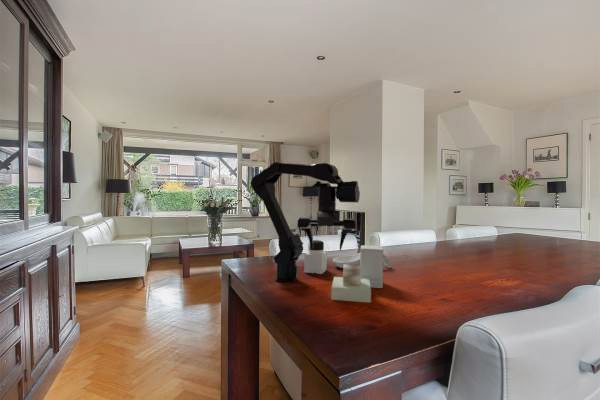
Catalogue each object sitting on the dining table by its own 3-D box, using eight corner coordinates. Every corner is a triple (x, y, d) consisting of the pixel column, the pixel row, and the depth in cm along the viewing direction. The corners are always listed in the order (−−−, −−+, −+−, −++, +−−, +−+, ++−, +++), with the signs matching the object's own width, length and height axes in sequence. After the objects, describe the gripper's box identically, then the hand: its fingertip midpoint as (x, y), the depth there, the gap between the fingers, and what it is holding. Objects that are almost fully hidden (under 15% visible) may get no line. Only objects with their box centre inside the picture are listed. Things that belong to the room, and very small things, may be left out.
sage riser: (331, 301, 85) (331, 287, 85) (333, 289, 96) (334, 276, 96) (370, 304, 83) (371, 290, 83) (368, 291, 94) (369, 279, 94)
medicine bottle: (326, 270, 118) (327, 240, 118) (322, 274, 111) (322, 242, 111) (309, 268, 120) (309, 238, 120) (304, 272, 113) (304, 241, 113)
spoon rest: (335, 271, 116) (335, 253, 116) (330, 264, 128) (330, 248, 128) (393, 271, 118) (394, 253, 118) (383, 264, 130) (383, 248, 130)
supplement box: (383, 288, 95) (383, 249, 95) (359, 286, 97) (360, 248, 97) (381, 282, 103) (382, 245, 102) (359, 280, 104) (360, 244, 104)
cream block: (343, 285, 87) (343, 268, 87) (343, 280, 92) (343, 264, 92) (360, 286, 86) (360, 269, 86) (359, 281, 91) (359, 265, 91)
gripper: (295, 202, 91) (294, 252, 91) (356, 203, 88) (355, 255, 88) (300, 201, 102) (299, 246, 102) (355, 202, 99) (354, 248, 99)
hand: (326, 249), depth 98 cm, fingers open, 9 cm apart
